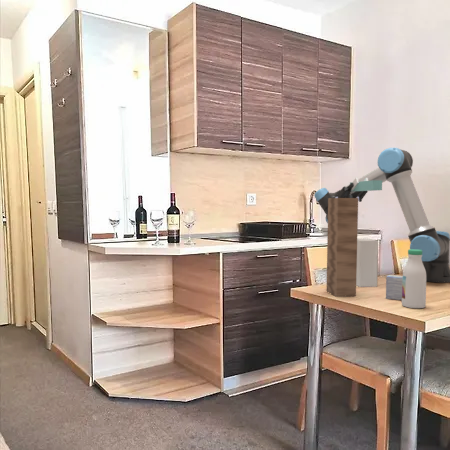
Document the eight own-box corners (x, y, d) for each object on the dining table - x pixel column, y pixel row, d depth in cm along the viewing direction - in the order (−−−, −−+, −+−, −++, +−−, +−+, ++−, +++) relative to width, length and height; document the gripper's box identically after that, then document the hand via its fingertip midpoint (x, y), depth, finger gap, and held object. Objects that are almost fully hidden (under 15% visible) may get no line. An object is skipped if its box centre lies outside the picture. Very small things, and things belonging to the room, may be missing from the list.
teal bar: (349, 191, 201) (350, 182, 201) (357, 191, 201) (358, 182, 201) (372, 190, 179) (373, 180, 179) (381, 190, 180) (382, 180, 179)
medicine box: (409, 299, 164) (410, 276, 163) (407, 301, 160) (408, 278, 159) (388, 296, 168) (388, 274, 167) (385, 298, 164) (386, 276, 164)
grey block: (349, 282, 197) (350, 238, 196) (366, 282, 198) (367, 238, 197) (359, 286, 187) (360, 240, 186) (377, 286, 188) (378, 240, 187)
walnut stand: (326, 291, 177) (328, 198, 175) (345, 291, 178) (347, 198, 176) (336, 296, 167) (338, 197, 165) (355, 296, 168) (358, 198, 166)
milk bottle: (429, 306, 152) (431, 250, 151) (418, 310, 147) (420, 251, 146) (408, 302, 158) (410, 248, 157) (397, 305, 153) (398, 249, 152)
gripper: (360, 212, 213) (382, 187, 192) (327, 212, 210) (345, 187, 190) (357, 199, 216) (378, 173, 196) (324, 199, 214) (342, 172, 193)
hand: (362, 180), depth 193 cm, fingers closed on teal bar, 4 cm apart
